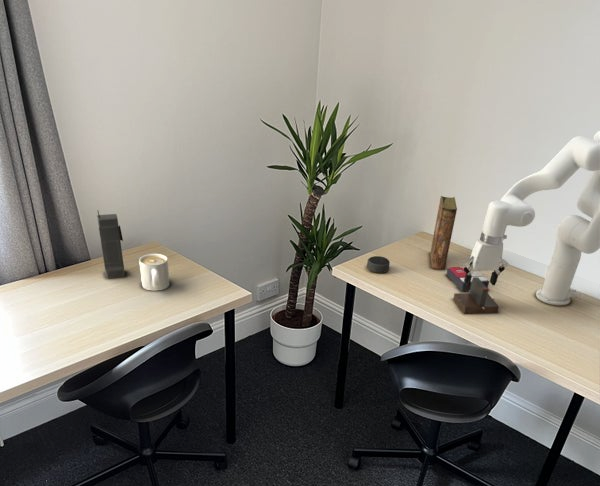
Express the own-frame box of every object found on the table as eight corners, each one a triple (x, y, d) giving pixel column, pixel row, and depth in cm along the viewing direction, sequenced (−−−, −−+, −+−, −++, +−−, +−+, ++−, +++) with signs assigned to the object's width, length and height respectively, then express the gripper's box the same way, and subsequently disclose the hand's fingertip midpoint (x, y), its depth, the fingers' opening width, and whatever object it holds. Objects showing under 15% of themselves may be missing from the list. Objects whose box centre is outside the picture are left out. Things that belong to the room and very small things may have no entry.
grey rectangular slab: (469, 293, 226) (473, 276, 222) (474, 293, 227) (478, 276, 223) (479, 306, 218) (483, 289, 214) (484, 306, 219) (488, 289, 215)
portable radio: (126, 270, 234) (117, 205, 218) (128, 276, 229) (119, 211, 214) (105, 271, 231) (95, 207, 216) (106, 278, 227) (96, 213, 212)
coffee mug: (144, 278, 229) (141, 253, 223) (171, 279, 229) (168, 254, 223) (138, 294, 218) (135, 268, 212) (166, 295, 219) (163, 269, 213)
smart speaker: (362, 269, 245) (363, 259, 243) (375, 262, 251) (376, 253, 248) (380, 276, 241) (381, 266, 238) (392, 269, 246) (394, 260, 244)
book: (444, 270, 248) (457, 210, 233) (431, 269, 248) (442, 208, 233) (443, 254, 261) (454, 196, 246) (430, 253, 261) (441, 195, 246)
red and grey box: (472, 265, 244) (490, 279, 232) (470, 275, 247) (487, 290, 235) (447, 266, 242) (463, 281, 230) (445, 276, 245) (461, 291, 233)
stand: (485, 296, 231) (487, 290, 229) (501, 314, 220) (502, 308, 218) (450, 297, 228) (451, 291, 227) (463, 315, 217) (465, 309, 216)
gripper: (510, 234, 213) (497, 279, 223) (463, 234, 210) (453, 279, 220) (519, 242, 207) (506, 288, 217) (472, 242, 204) (460, 288, 214)
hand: (479, 283), depth 219 cm, fingers open, 9 cm apart
